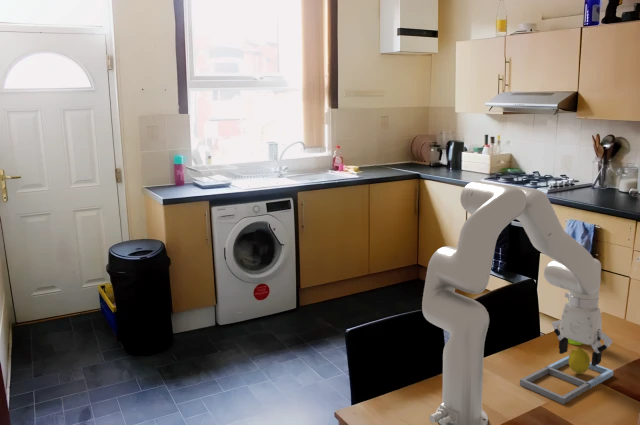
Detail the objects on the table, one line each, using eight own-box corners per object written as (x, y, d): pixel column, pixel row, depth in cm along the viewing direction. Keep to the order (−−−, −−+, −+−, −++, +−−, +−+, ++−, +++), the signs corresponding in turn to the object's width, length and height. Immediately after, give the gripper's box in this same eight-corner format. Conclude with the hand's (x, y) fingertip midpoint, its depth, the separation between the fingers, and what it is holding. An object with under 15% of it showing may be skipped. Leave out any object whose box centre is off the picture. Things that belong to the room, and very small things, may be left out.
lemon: (591, 379, 156) (593, 352, 155) (570, 377, 158) (571, 351, 156) (586, 370, 162) (588, 344, 160) (565, 368, 163) (567, 343, 161)
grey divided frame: (563, 404, 144) (563, 398, 144) (519, 384, 154) (520, 379, 154) (612, 375, 158) (613, 370, 158) (569, 359, 169) (570, 354, 168)
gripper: (547, 296, 160) (544, 351, 163) (607, 313, 146) (602, 373, 150) (562, 290, 165) (558, 345, 168) (621, 306, 151) (616, 365, 154)
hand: (579, 358), depth 159 cm, fingers open, 9 cm apart
